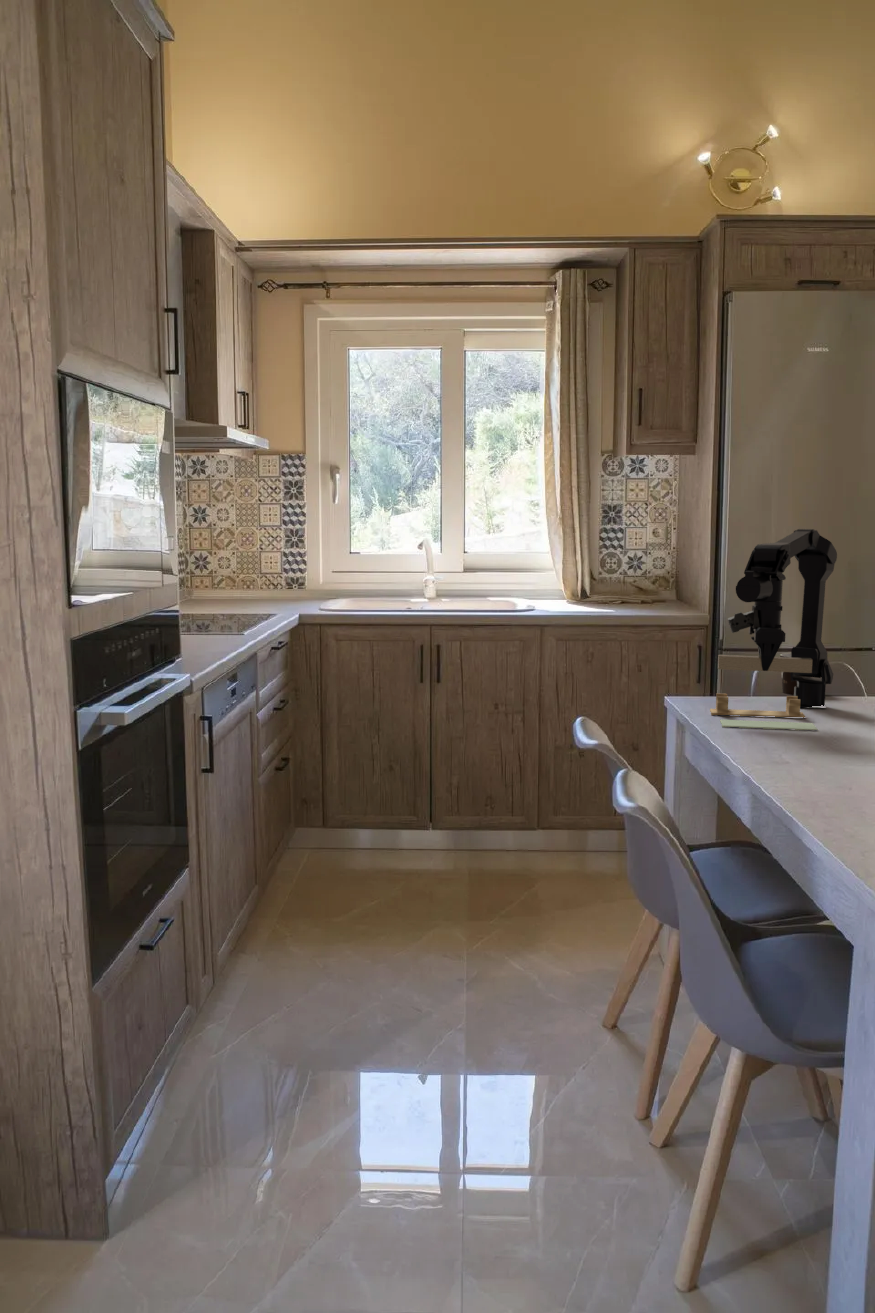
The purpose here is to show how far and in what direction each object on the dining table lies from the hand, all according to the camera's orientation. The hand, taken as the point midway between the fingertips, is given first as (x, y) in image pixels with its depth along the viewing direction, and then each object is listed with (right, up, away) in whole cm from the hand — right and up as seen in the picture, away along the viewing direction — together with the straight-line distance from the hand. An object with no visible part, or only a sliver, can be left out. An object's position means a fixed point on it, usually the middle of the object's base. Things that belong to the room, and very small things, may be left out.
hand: (764, 669), depth 226 cm
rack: (+1, -11, +10) cm, 15 cm away
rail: (0, 0, 0) cm, 0 cm away
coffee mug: (+22, -7, +42) cm, 48 cm away
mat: (0, -13, -3) cm, 13 cm away
